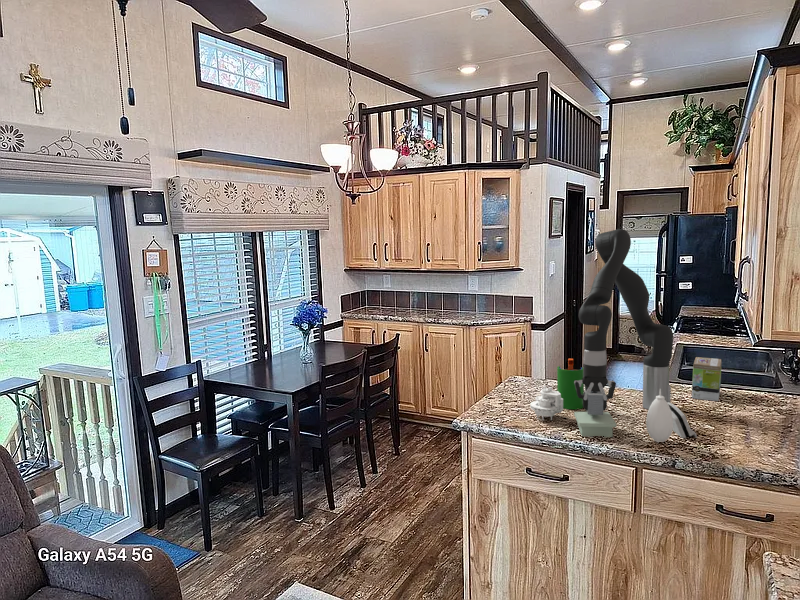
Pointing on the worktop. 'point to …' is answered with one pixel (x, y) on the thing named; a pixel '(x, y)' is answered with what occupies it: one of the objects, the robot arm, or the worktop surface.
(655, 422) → the sauce bottle
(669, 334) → the robot arm
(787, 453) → the worktop surface
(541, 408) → the mechanical part
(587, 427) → the stand
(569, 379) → the motor
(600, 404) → the housing
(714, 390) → the tea box
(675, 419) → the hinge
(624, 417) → the worktop surface
